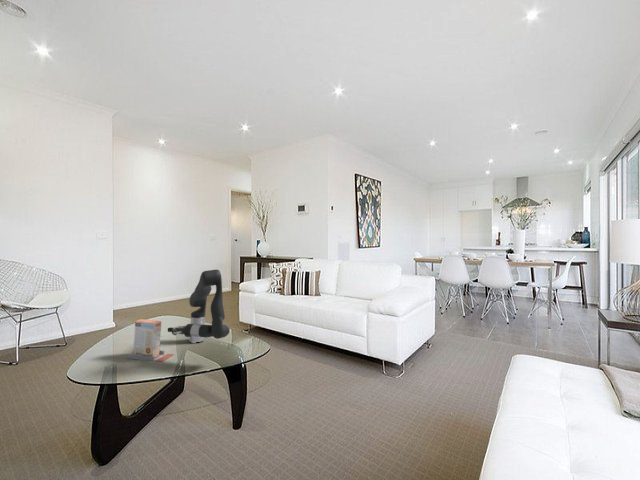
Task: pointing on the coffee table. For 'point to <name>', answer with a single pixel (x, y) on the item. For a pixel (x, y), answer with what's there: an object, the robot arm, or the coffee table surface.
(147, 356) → the channel
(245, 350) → the coffee table surface
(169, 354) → the pad
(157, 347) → the cracker box
